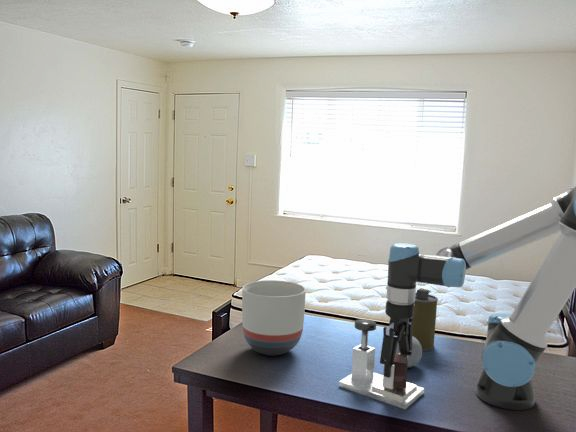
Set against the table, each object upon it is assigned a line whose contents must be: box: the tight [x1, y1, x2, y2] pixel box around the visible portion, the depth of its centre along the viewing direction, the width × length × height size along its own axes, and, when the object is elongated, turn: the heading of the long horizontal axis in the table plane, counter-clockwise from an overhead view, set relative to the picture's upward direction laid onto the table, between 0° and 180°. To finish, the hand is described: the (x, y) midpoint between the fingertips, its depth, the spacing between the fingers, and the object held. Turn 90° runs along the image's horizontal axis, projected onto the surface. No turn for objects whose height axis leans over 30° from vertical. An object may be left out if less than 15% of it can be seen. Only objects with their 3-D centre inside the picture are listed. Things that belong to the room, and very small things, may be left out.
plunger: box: [354, 318, 377, 351], centre depth 145 cm, size 6×6×13 cm
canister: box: [412, 287, 439, 352], centre depth 177 cm, size 11×10×20 cm
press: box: [338, 343, 425, 410], centre depth 142 cm, size 20×12×10 cm, turn 53°
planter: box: [241, 279, 307, 356], centre depth 166 cm, size 20×20×21 cm
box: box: [393, 354, 408, 388], centre depth 139 cm, size 6×6×7 cm
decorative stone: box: [396, 336, 423, 369], centre depth 159 cm, size 10×10×10 cm
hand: (394, 382), depth 140 cm, fingers closed on box, 8 cm apart
